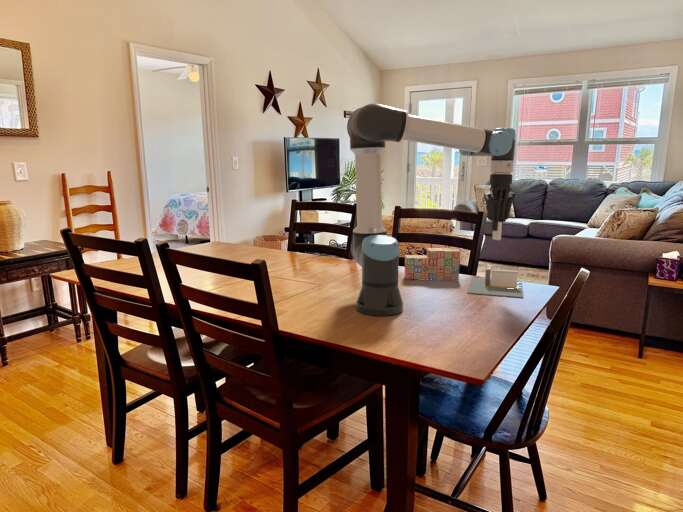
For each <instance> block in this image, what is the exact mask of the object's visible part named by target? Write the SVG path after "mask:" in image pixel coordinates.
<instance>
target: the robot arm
mask: <svg viewBox="0 0 683 512" xmlns="http://www.w3.org/2000/svg"><path fill="white" fill-rule="evenodd" d="M346 131H347V134H348V136H349V137H348V138H349V145H350V147H349V149H350V151H351V152H352V153H353V154H354V162H355V163H354V165H355V166H354V167H355V170H354V171H355V197H356V198H355V199H356V200H355V201H356V226H355V227H354V229H353V230H352V241H351V245H350V252H351V256H352V258H353V260H354V261H355V263H356V264H358V265H359V266H360V267H361V287H360V291H359V294H358V297H357V299H356V307H355V308H356V310H357V312H359V313H361V314H364V315H368V316H374V317H375V316H377V317H380V316H381V317H385V316H388V317H389V316H395V315H398V314H400V313H402V312H403V310H404V302H403V298H402V295H401V292H400V289H399V260H400V255H399V254H400V244H399V241H398V240H397V239H396V238H395V237H393V236H389V235H387V233H388V232H387V229H386V228H385V227H384V225H383V211H382V208H383V206H382V204H383V203H382V202H383V201H382V200H383V199H382V152H384V150H385V149H386V142H397V143H401V142H402V141H407V142H408V141H409V142H414V143H421V144H426V145H431V146H438V147H443V148H447V149H454V150H458V152H459V154H460V155H462V156H465V157H466V156H467V157H490V158H491V159H490V170H489V171H490V172H491V174H490V175H489V184H490V188H489V191H488V192H487V193H483V197H484V199H485V205H486V214H487V219H488V221H490V222H491V225H492V226H491V230H492V236H491V237H492V238H491V239H492V240H494V241H501V240H502V231H503V228H504V223H506V221H507V220H508V219H509V217H510V212H511V210H512V209H511V208H512V205H513V201H514V198H515V197H516V193H515V192H512V191H511V185H512V184H513V174H512V173H513V172H514V161H515V148H516V143H517V141H516V130H515V129H514V128H513V127H512V128H511V127H496V128H494V129H493V130H492V129H491V130H490V129H485V128H480V127H475V126H471V125H470V126H469V125H465V124H460V123H453V122H449V121H443V120H439V119H435V118H434V119H432V118H430V117H429V118H428V117H423V116H418V115H412V114H409V113H408V112H407V110H405V109H400V108H395V107H393V106H389V105H384V104H380V103H368V104H366V105H364V106H362V107H358V108H357V109H355V110H354V111H353V112H351V114H350V116H349V118H348V120H347V123H346Z"/></svg>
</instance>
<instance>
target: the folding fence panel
mask: <svg viewBox="0 0 683 512" xmlns="http://www.w3.org/2000/svg"><path fill="white" fill-rule="evenodd" d="M518 275H519V273H518V270H504V269H487V268H486V269H485V276H484V279H485V286H490V279H491V286H503V287H517V281H518Z"/></svg>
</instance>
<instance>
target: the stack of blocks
mask: <svg viewBox="0 0 683 512" xmlns="http://www.w3.org/2000/svg"><path fill="white" fill-rule="evenodd" d="M460 256H461V251H460V250H459V248H450V247H438V248H436V247H434V248H433V247H427V248H426V255H423V254H422V255H421V254H420V255H419V254H405V255H404V278H406V279H405V280H406V281H408V280H407V279H429V280H428V281H455V280H460V265H461V259H460V258H461V257H460ZM431 279H432V280H431Z"/></svg>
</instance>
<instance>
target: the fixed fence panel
mask: <svg viewBox="0 0 683 512" xmlns="http://www.w3.org/2000/svg"><path fill="white" fill-rule="evenodd" d="M491 267H492V264H491V263H487V266H486V269H491ZM491 270H492V269H491Z"/></svg>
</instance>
